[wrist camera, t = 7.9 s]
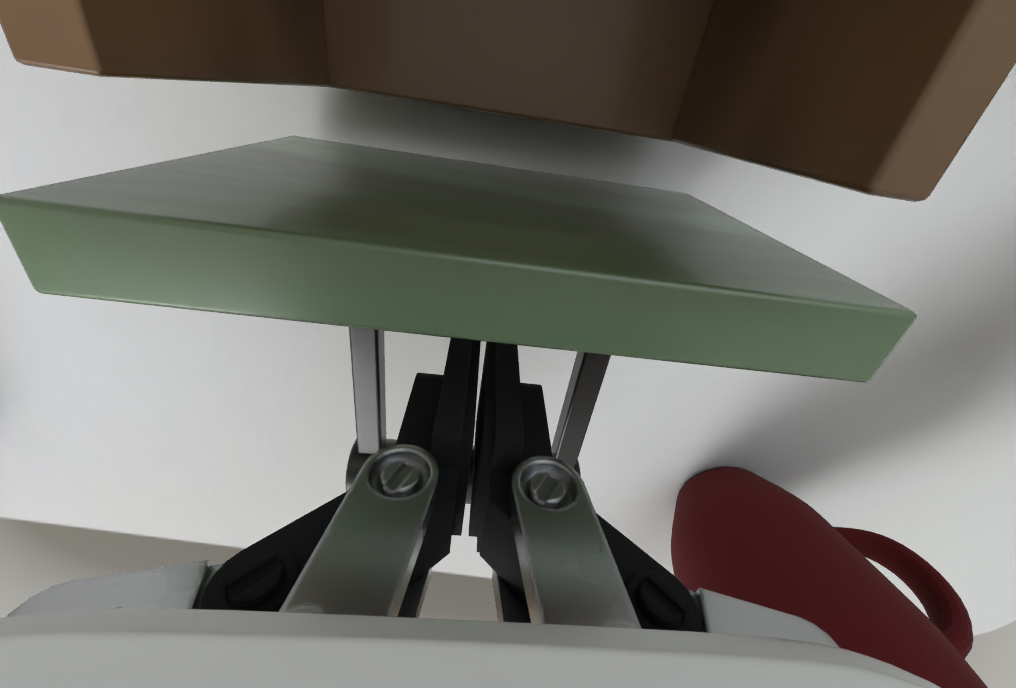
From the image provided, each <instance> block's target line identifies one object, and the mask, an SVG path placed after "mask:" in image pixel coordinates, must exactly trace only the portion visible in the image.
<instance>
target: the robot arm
mask: <svg viewBox="0 0 1016 688" xmlns="http://www.w3.org/2000/svg"><path fill="white" fill-rule="evenodd" d="M480 343H481V341H477V340H468V339H459V338H451V340H450V345H449V350H448V356H447V361H446V366H445V371H444V375H436V374H426V373H417V375H416V377H415V381H414V384H413V388H412V391H411V394H410V398H409V401H408V405H407V408H406V412H405V415H404V418H403V422H402V425H401V429H400V432H399V436H398V439H397V442H396V445H392V446H388V447H386V448H383V449H380V450H378V451H377V452H376V453H374V454H373V455H371V456H370V457H369V458H368V459H367V460H366V462H365V463H364V464H363V466H362V467H361V469H360V471H359V473H358V474H357V476H356V478H355V480H354V481H353V483H352V485H351V487H350V488H349V490H348V491H347V492H345V493H343V494H342V495H340V496H338V497H336V498H335V499H333V500H331V501H329V502H327V503H326V504H324V505H322V506H320V507H319V508H317V509H315V510H313V511H311V512H310V513H308V514H306V515H304V516H303V517H301V518H299V519H297V520H295V521H294V522H292V523H290V524H288V525H287V526H285V527H283V528H281V529H279V530H278V531H276V532H274V533H272V534H271V535H269V536H267V537H265V538H263V539H262V540H260V541H258V542H256V543H255V544H253V545H251V546H249V547H247V548H246V549H244V550H242V551H240V552H239V553H238V554H236V555H235V556H233V557H232V558H230V559H229V560H228V561H226V562H225V563H224V564H218V565H212V566H211V565H210V562H209V560H205V561H198V562H191V563H184V564H178V565H171V566H164V567H158V568H151V569H145V570H138V571H132V572H125V573H119V574H111V575H105V576H98V577H91V578H85V579H78V580H73V581H69V582H66V583H62V584H59V585H56V586H53V587H50V588H48V589H46V590H45V591H42V592H41V593H39V594H37V595H35V596H33V597H31V598H29V599H28V600H27V601H25V602H24V603H23V604H21V605H20V606H19V607H17V608H16V609H15V610H14V611H12V612H11V613H9V614H8V616H7V617H4V618H0V688H941V687H939V686H937V685H935V684H933V683H931V682H929V681H927V680H925V679H923V678H920V677H918V676H916V675H914V674H911V673H909V672H907V671H905V670H902V669H900V668H898V667H896V666H893V665H891V664H888V663H886V662H883V661H880V660H877V659H875V658H872V657H869V656H866V655H863V654H859V653H856V652H853V651H850V650H846V649H842V648H840V647H839V646H838V645H837V644H836V643H835V642H834V641H833V639H832V638H831V637H830V636H829V635H828V634H827V633H825V632H824V631H823V630H821V629H820V628H819V627H817V626H816V625H815V624H813V623H811V622H809V621H807V620H805V619H802V618H800V617H797V616H794V615H791V614H787V613H784V612H780V611H777V610H774V609H770V608H767V607H763V606H760V605H757V604H753V603H750V602H746V601H743V600H740V599H736V598H733V597H729V596H726V595H723V594H719V593H716V592H712V591H709V590H706V589H702V588H699V589H698V590H697V591H696V592H692V591H689V590H688V589H687V588H686V587H685V586H684V585H683V584H682V583H681V582H680V581H679V580H678V579H677V578H676V577H675V576H674V575H673V574H671V573H670V572H669V571H668V570H666V569H665V568H664V567H663V566H661V565H660V564H659V563H658V562H656V561H655V560H654V559H653V558H651V557H650V556H649V555H648V554H646V553H645V552H644V551H643V550H641V549H640V548H639V547H638V546H636V545H635V544H634V543H633V542H632V541H630V540H629V539H628V538H627V537H625V536H624V535H623V534H622V533H620V532H619V531H618V530H617V529H615V528H614V527H613V526H612V525H610V524H609V523H608V522H607V521H605V520H604V519H603V518H602V517H600V516H599V515H598V514H597V513H596V512H595V510H594V507H593V505H592V502H591V500H590V497H589V494H588V492H587V489H586V487H585V484H584V482H583V480H582V479H581V477H580V475H579V473H578V472H577V471H575V470H574V469H573V468H572V467H571V466H570V465H568V464H567V463H565V462H563V461H562V460H559V459H556V458H553V457H552V450H551V443H550V437H549V430H548V423H547V417H546V410H545V403H544V397H543V390H542V386H541V385H537V384H527V383H520V375H519V362H518V349H517V345H514V344H505V343H496V342H486V350H485V357H484V365H483V373H482V380H481V388H480V396H479V403H478V411H477V420H476V432H475V447H474V462H473V477H472V492H471V507H470V522H469V536H476V537H477V552H480V556H481V557H482V558H483V559H484V560H485V561H486V562H487V563H488V564H489V565H490V567H491V568H492V569H493V575H492V580H493V588H494V595H495V602H496V610H497V618H498V622H494V621H471V620H451V619H429V618H419V614H420V611H421V607H422V604H423V600H424V597H425V593H426V590H427V586H428V583H429V580H430V576H431V570H432V567H433V566H434V565H436V564H437V563H438V562H439V561H440V560H442V559H443V558H444V557H445V556H447V555H448V554H449V553H450V544H451V535H460V536H461V532H462V525H463V517H464V509H465V502H466V494H467V486H468V479H469V471H470V463H471V456H472V448H473V438H474V427H475V413H476V399H477V385H478V371H479V357H480Z"/></svg>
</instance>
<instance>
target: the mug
mask: <svg viewBox="0 0 1016 688" xmlns="http://www.w3.org/2000/svg"><path fill="white" fill-rule="evenodd" d="M671 556H672V564H673V570H674V575H675V577H676V578H677V579H678V580H679V581H680V582H681V583H682V584H683V585H684V586H685V587H686V588H687V589H688V590H689V591H692V592H696V591H697V590H698V589H699V588H702V589H706V590H709V591H712V592H716V593H719V594H723V595H726V596H729V597H733V598H736V599H740V600H743V601H746V602H750V603H753V604H757V605H760V606H763V607H767V608H770V609H774V610H777V611H780V612H784V613H787V614H791V615H794V616H797V617H800V618H802V619H805V620H807V621H809V622H811V623H813V624H815V625H816V626H817V627H819V628H820V629H821V630H823V631H824V632H825V633H827V634H828V635H829V636H830V637H831V638H832V639H833V641H834V642H835V643H836V644H837V645H838V646H839V647H840V648H842V649H846V650H850V651H853V652H856V653H859V654H863V655H866V656H869V657H872V658H875V659H877V660H880V661H883V662H886V663H888V664H891V665H893V666H896V667H898V668H900V669H902V670H905V671H907V672H909V673H911V674H914V675H916V676H918V677H920V678H923V679H925V680H927V681H929V682H931V683H933V684H935V685H937V686H939V687H941V688H987V686H986V685H985V684H984V682H983V681H982V680H981V679H980V678H979V676H978V675H977V674H976V673H975V671H974V670H973V669H972V668H971V667H970V665H969V664H968V663H967V662H966V661H965V657H966V656H967V655H968V653H969V652H970V650H971V648H972V643H973V632H972V623H971V620H970V617H969V614H968V611H967V610H966V608H965V606H964V604H963V602H962V600H961V598H960V597H959V596H958V594H957V593H956V592H955V590H954V589H953V588H952V586H951V585H950V584H949V583H948V582H947V581H946V580H945V578H944V577H943V576H942V575H941V574H940V573H939V572H938V571H937V570H936V569H934V568H933V567H932V566H931V565H930V564H929V563H928V562H927V561H925V560H924V559H923V558H921V557H920V556H919V555H918V554H916V553H915V552H913V551H912V550H910V549H909V548H907V547H906V546H904V545H902V544H900V543H898V542H896V541H894V540H893V539H890V538H888V537H885V536H883V535H880V534H877V533H873V532H870V531H865V530H860V529H853V528H843V527H832V526H831V525H830V524H829V523H828V522H827V521H826V520H825V519H824V518H823V517H822V516H821V515H820V514H818V513H817V512H816V511H815V510H814V509H813V508H812V507H810V506H809V505H808V504H806V503H805V502H804V501H802V500H801V499H799V498H797V497H796V496H794V495H793V494H791V493H789V492H788V491H786V490H784V489H782V488H781V487H779V486H777V485H775V484H773V483H771V482H769V481H767V480H765V479H763V478H761V477H760V476H758V475H756V474H754V473H752V472H750V471H747V470H745V469H742V468H737V467H721V468H715V469H711V470H708V471H705V472H703V473H701V474H699V475H697V476H695V477H693V478H692V479H691V480H689V481H688V482H687V483H686V484H685V485H684V486H683V487H682V489H681V490H680V492H679V494H678V497H677V501H676V507H675V514H674V520H673V527H672V537H671ZM865 557H866V558H869V559H871V560H873V561H875V562H877V563H879V564H880V565H882V566H884V567H885V568H887V569H888V570H890V571H891V572H892V573H894V574H895V575H896V576H897V577H899V578H900V579H901V580H902V581H903V582H904V583H905V584H906V585H907V586H908V587H909V588H910V589H911V590H912V591H913V593H914V594H915V595H916V596H917V598H918V599H919V600H920V602H921V604H922V605H923V607H924V608H925V611H926V613H927V615H928V617H929V619H928V617H927V616H926V615H925V614H924V613H923V612H922V611H921V610H919V609H918V608H917V607H916V606H915V605H914V604H913V603H912V602H911V601H910V600H909V599H908V598H907V597H906V596H905V595H904V594H903V593H902V592H901V591H900V590H899V589H898V588H897V587H896V586H895V585H893V584H892V583H891V582H890V581H889V580H888V579H887V578H886V577H885V576H884V575H883V574H882V573H881V572H880V571H879V570H878V569H877V568H876V567H875V566H873V565H872V564H871V563H870V562H869V561H868V560H867V559H866V558H865Z"/></svg>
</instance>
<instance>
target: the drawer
mask: <svg viewBox="0 0 1016 688" xmlns="http://www.w3.org/2000/svg"><path fill="white" fill-rule="evenodd" d="M0 24H1V26H2V29H3V31H4V33H5V36H6V38H7V41H8V43H9V46H10V48H11V51H12V53H13V56H14V58H15V59H16V61H17V62H20V63H22V64H24V65H29V66H35V67H42V68H48V69H54V70H61V71H67V72H74V73H80V74H87V75H93V76H100V77H121V78H143V79H165V80H187V81H209V82H231V83H253V84H275V85H297V86H319V87H332V88H339V89H345V90H351V91H358V92H364V93H370V94H376V95H383V96H389V97H395V98H401V99H408V100H414V101H420V102H427V103H433V104H439V105H445V106H452V107H458V108H464V109H470V110H477V111H483V112H489V113H495V114H502V115H508V116H514V117H521V118H527V119H533V120H539V121H546V122H552V123H558V124H564V125H571V126H577V127H583V128H589V129H596V130H602V131H608V132H615V133H621V134H627V135H633V136H640V137H646V138H652V139H658V140H665V141H671V142H675V143H679V144H683V145H686V146H690V147H694V148H697V149H701V150H705V151H709V152H712V153H716V154H720V155H723V156H727V157H731V158H735V159H738V160H742V161H746V162H749V163H753V164H757V165H760V166H764V167H768V168H772V169H775V170H779V171H783V172H786V173H790V174H794V175H798V176H801V177H805V178H809V179H812V180H816V181H820V182H823V183H827V184H831V185H835V186H838V187H842V188H846V189H849V190H853V191H857V192H861V193H864V194H868V195H874V196H880V197H887V198H893V199H900V200H906V201H913V202H916V201H922V200H925V199H926V198H927V197H929V196H930V194H931V193H932V191H933V190H934V188H935V186H936V185H937V183H938V182H939V180H940V179H941V177H942V176H943V174H944V173H945V171H946V169H947V168H948V166H949V165H950V163H951V162H952V160H953V159H954V157H955V156H956V154H957V153H958V151H959V149H960V148H961V146H962V145H963V143H964V142H965V140H966V139H967V137H968V136H969V134H970V132H971V131H972V129H973V128H974V126H975V125H976V123H977V122H978V120H979V119H980V117H981V116H982V114H983V112H984V111H985V109H986V108H987V106H988V105H989V103H990V102H991V100H992V99H993V97H994V95H995V94H996V92H997V91H998V89H999V88H1000V86H1001V85H1002V83H1003V82H1004V80H1005V79H1006V77H1007V75H1008V74H1009V72H1010V71H1011V69H1012V68H1013V66H1014V65H1015V63H1016V0H0ZM0 221H1V223H2V225H3V227H4V229H5V231H6V233H7V235H8V237H9V239H10V241H11V243H12V245H13V247H14V249H15V251H16V253H17V255H18V257H19V259H20V261H21V263H22V265H23V267H24V269H25V271H26V273H27V275H28V277H29V279H30V281H31V283H32V285H33V287H34V288H35V289H36V290H37V291H38V292H40V293H43V294H53V295H62V296H71V297H80V298H90V299H99V300H108V301H117V302H127V303H136V304H145V305H154V306H164V307H173V308H182V309H191V310H200V311H210V312H219V313H228V314H237V315H247V316H256V317H265V318H274V319H284V320H293V321H302V322H311V323H320V324H330V325H339V326H348V327H349V333H350V347H351V361H352V375H353V389H354V403H355V418H356V432H357V439H356V441H355V443H354V445H353V447H352V450H351V453H350V456H349V460H348V465H347V471H346V491H348V490H349V488H350V487H351V485H352V483H353V481H354V480H355V478H356V476H357V474H358V473H359V471H360V469H361V467H362V466H363V464H364V463H365V462H366V460H367V459H368V458H369V457H370V456H371V455H373V454H374V453H376V452H377V451H378V450H380V449H383V448H386V447H388V446H392V445H396V442H397V440H395V439H386V407H385V358H384V330H385V331H394V332H404V333H413V334H422V335H431V336H441V337H450V338H459V339H468V340H477V341H487V342H496V343H505V344H514V345H524V346H533V347H542V348H551V349H561V350H570V351H578V352H577V356H576V359H575V363H574V367H573V370H572V374H571V378H570V381H569V385H568V389H567V393H566V396H565V400H564V404H563V407H562V411H561V415H560V418H559V422H558V426H557V430H556V433H555V437H554V441H553V444H552V448H551V450H552V457H553V458H556V459H559V460H562V461H563V462H565V463H567V464H568V465H570V466H571V467H572V468H573V469H574V470H575V471H577V472H578V473H579V475H580V467H579V462H578V456H579V452H580V449H581V446H582V443H583V440H584V437H585V434H586V431H587V428H588V425H589V421H590V418H591V415H592V412H593V409H594V406H595V403H596V400H597V397H598V394H599V390H600V387H601V384H602V381H603V378H604V375H605V372H606V369H607V366H608V362H609V359H610V356H611V355H616V356H625V357H634V358H644V359H653V360H662V361H671V362H681V363H690V364H699V365H708V366H717V367H727V368H736V369H745V370H754V371H764V372H773V373H782V374H791V375H801V376H810V377H819V378H828V379H838V380H847V381H856V382H868V381H869V380H871V379H872V377H873V376H874V375H875V373H876V372H877V371H878V369H879V368H880V367H881V365H882V364H883V363H884V361H885V360H886V359H887V357H888V356H889V355H890V353H891V352H892V351H893V349H894V348H895V347H896V345H897V344H898V342H899V341H900V340H901V338H902V337H903V336H904V334H905V333H906V332H907V330H908V329H909V328H910V326H911V325H912V324H913V322H914V321H915V320H916V316H917V315H916V314H915V313H914V312H913V311H911V310H909V309H908V308H906V307H904V306H902V305H900V304H898V303H896V302H894V301H892V300H890V299H888V298H886V297H885V296H883V295H881V294H879V293H877V292H875V291H873V290H871V289H869V288H867V287H865V286H863V285H862V284H860V283H858V282H856V281H854V280H852V279H850V278H848V277H846V276H844V275H842V274H840V273H839V272H837V271H835V270H833V269H831V268H829V267H827V266H825V265H823V264H821V263H819V262H818V261H816V260H814V259H812V258H810V257H808V256H806V255H804V254H802V253H800V252H798V251H796V250H795V249H793V248H791V247H789V246H787V245H785V244H783V243H781V242H779V241H777V240H775V239H773V238H772V237H770V236H768V235H766V234H764V233H762V232H760V231H758V230H756V229H754V228H752V227H750V226H749V225H747V224H745V223H743V222H741V221H739V220H737V219H735V218H733V217H731V216H729V215H727V214H726V213H724V212H722V211H720V210H718V209H716V208H714V207H712V206H710V205H708V204H706V203H704V202H703V201H701V200H699V199H697V198H695V197H693V196H691V195H689V194H685V193H678V192H671V191H665V190H658V189H651V188H644V187H638V186H631V185H624V184H617V183H611V182H604V181H597V180H590V179H584V178H577V177H570V176H563V175H556V174H550V173H543V172H536V171H529V170H523V169H516V168H509V167H502V166H496V165H489V164H482V163H475V162H469V161H462V160H455V159H448V158H442V157H435V156H428V155H421V154H414V153H408V152H401V151H394V150H387V149H381V148H374V147H367V146H360V145H354V144H347V143H340V142H333V141H327V140H320V139H313V138H306V137H300V136H289V137H284V138H279V139H274V140H269V141H264V142H259V143H254V144H249V145H244V146H239V147H234V148H229V149H224V150H219V151H214V152H209V153H205V154H200V155H195V156H190V157H185V158H180V159H175V160H170V161H165V162H160V163H155V164H150V165H145V166H140V167H135V168H130V169H125V170H120V171H115V172H110V173H105V174H100V175H95V176H90V177H85V178H80V179H75V180H70V181H65V182H60V183H55V184H50V185H45V186H40V187H35V188H30V189H25V190H20V191H15V192H10V193H5V194H0ZM474 447H475V446H473V448H472V456H471V463H470V471H469V479H468V486H467V494H466V502H465V503H466V504H471V492H472V477H473V462H474ZM580 477H581V476H580Z"/></svg>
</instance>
